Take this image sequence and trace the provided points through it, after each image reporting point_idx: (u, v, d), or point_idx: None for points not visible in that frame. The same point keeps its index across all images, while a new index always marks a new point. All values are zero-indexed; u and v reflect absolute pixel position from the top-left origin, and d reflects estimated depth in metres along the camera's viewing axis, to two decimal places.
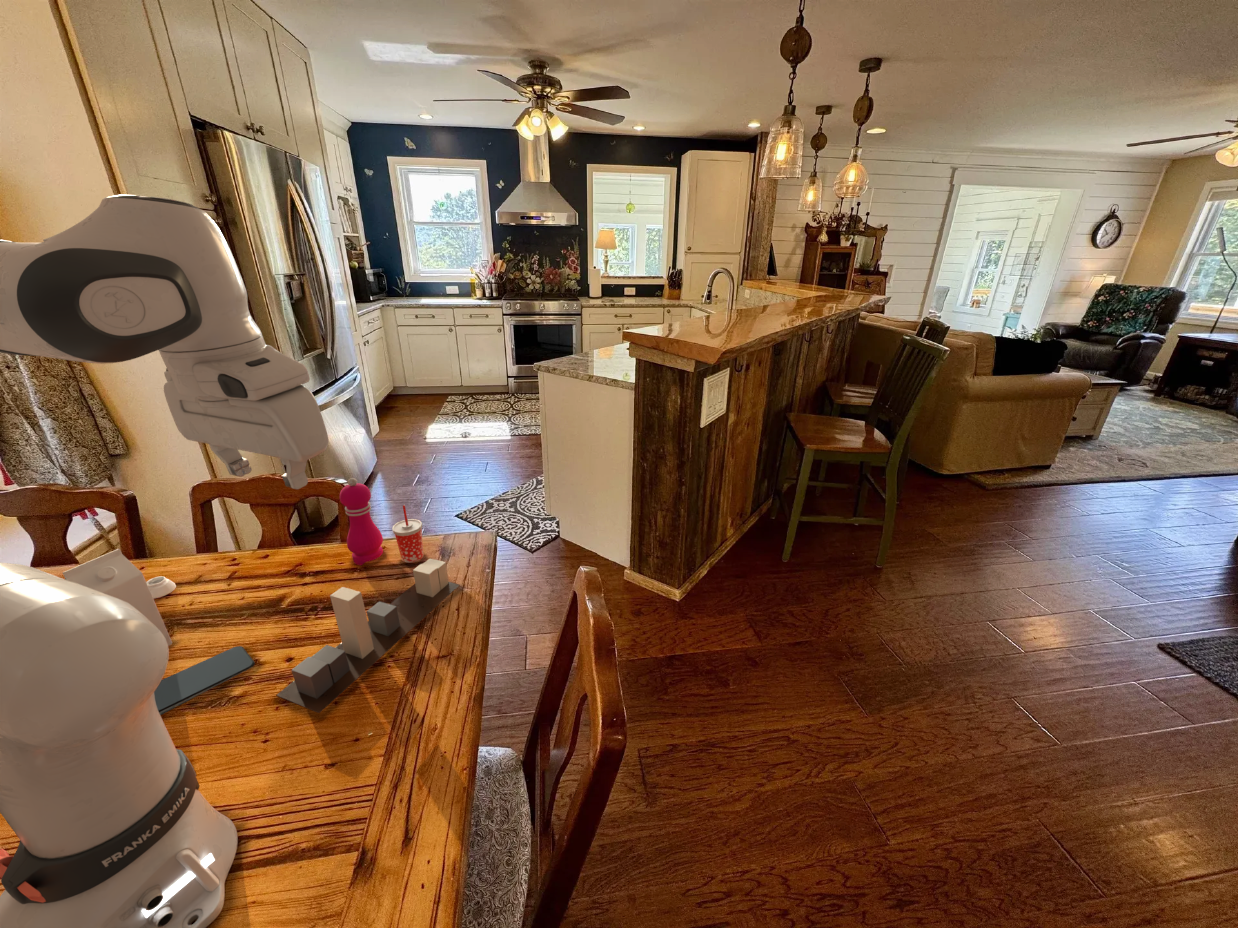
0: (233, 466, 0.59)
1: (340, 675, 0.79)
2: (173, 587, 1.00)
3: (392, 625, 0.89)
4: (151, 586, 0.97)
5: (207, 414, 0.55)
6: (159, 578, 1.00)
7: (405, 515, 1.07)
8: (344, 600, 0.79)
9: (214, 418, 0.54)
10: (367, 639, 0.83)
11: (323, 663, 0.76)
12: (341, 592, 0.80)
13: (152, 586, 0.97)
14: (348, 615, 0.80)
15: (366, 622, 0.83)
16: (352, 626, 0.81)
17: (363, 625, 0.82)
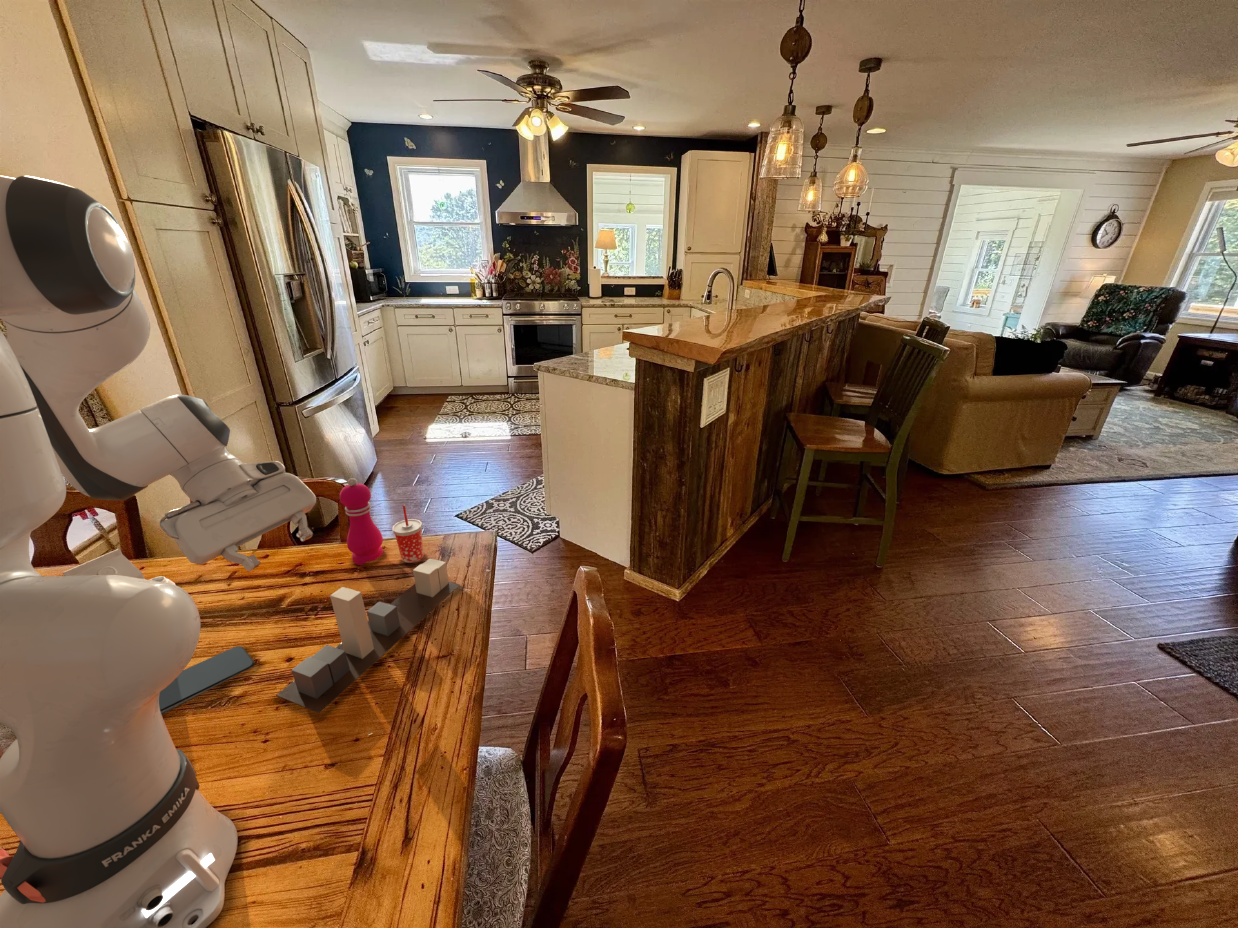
0: (253, 555, 0.78)
1: (340, 675, 0.79)
2: None
3: (392, 625, 0.89)
4: None
5: (228, 517, 0.78)
6: (159, 578, 1.00)
7: (405, 515, 1.07)
8: (344, 600, 0.79)
9: (239, 513, 0.79)
10: (367, 639, 0.83)
11: (323, 663, 0.76)
12: (341, 592, 0.80)
13: None
14: (348, 615, 0.80)
15: (366, 622, 0.83)
16: (352, 626, 0.81)
17: (363, 625, 0.82)
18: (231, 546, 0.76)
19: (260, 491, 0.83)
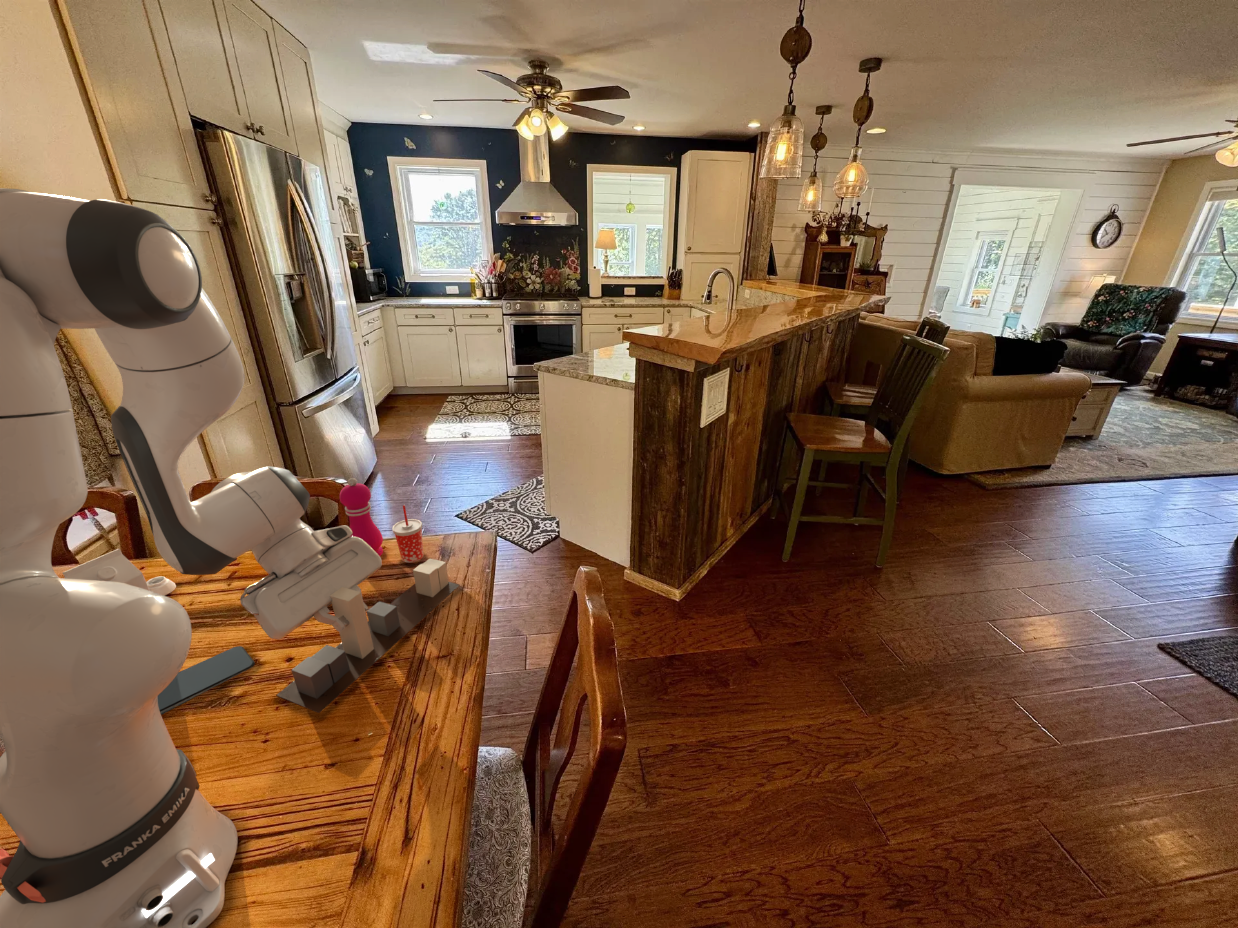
0: (343, 616, 0.80)
1: (340, 675, 0.79)
2: (173, 587, 1.00)
3: (392, 625, 0.89)
4: (151, 586, 0.97)
5: (303, 589, 0.78)
6: (159, 578, 1.00)
7: (405, 515, 1.07)
8: (344, 600, 0.79)
9: (313, 584, 0.79)
10: (367, 639, 0.83)
11: (323, 663, 0.76)
12: (341, 592, 0.80)
13: (152, 586, 0.97)
14: (348, 615, 0.80)
15: (366, 622, 0.82)
16: (352, 627, 0.80)
17: (363, 625, 0.82)
18: (323, 608, 0.79)
19: (331, 558, 0.83)
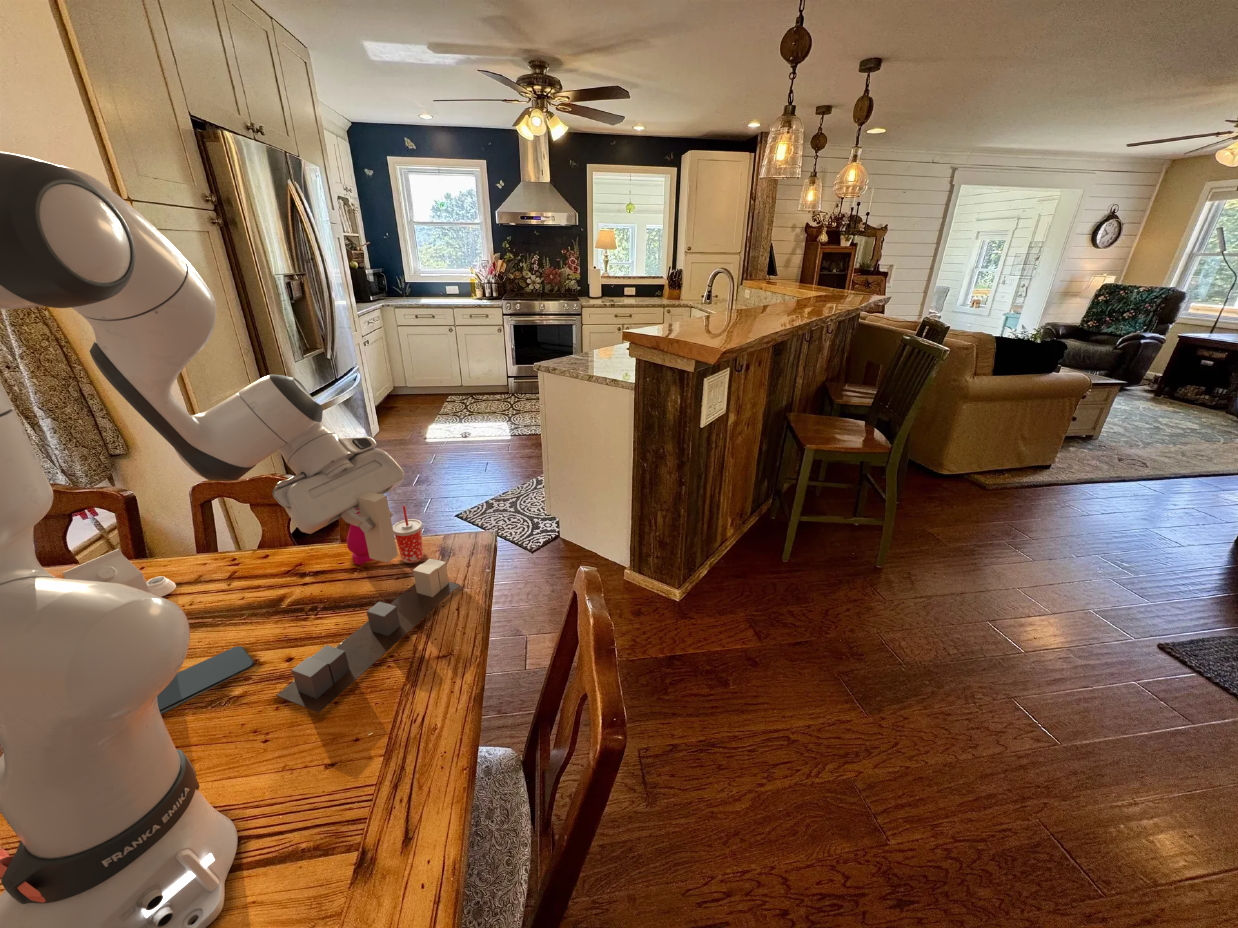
0: (369, 518, 0.82)
1: (340, 675, 0.79)
2: (173, 587, 1.00)
3: (392, 625, 0.89)
4: (151, 586, 0.97)
5: (332, 489, 0.80)
6: (159, 578, 1.00)
7: (405, 515, 1.07)
8: (371, 501, 0.81)
9: (341, 485, 0.81)
10: (392, 544, 0.86)
11: (323, 663, 0.76)
12: (367, 495, 0.83)
13: (152, 586, 0.97)
14: (374, 517, 0.82)
15: (391, 527, 0.85)
16: (378, 529, 0.83)
17: (388, 529, 0.84)
18: (351, 509, 0.81)
19: (357, 465, 0.85)
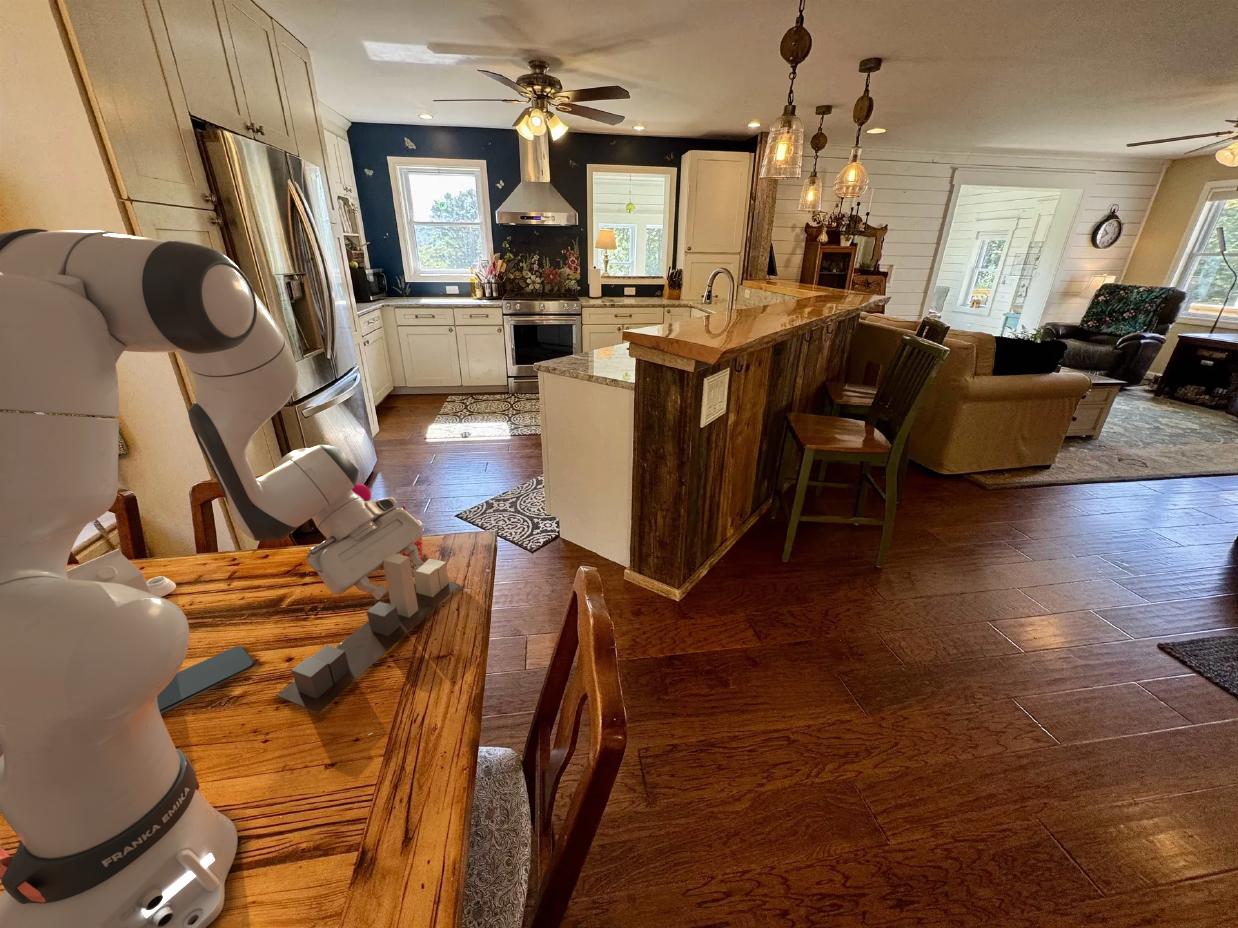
0: (381, 585, 0.87)
1: (340, 675, 0.79)
2: (173, 587, 1.00)
3: (392, 625, 0.89)
4: (151, 586, 0.97)
5: (359, 551, 0.87)
6: (159, 578, 1.00)
7: None
8: (395, 563, 0.88)
9: (367, 547, 0.88)
10: (413, 600, 0.93)
11: (323, 663, 0.76)
12: (391, 557, 0.90)
13: (152, 586, 0.97)
14: (398, 577, 0.89)
15: (412, 585, 0.92)
16: (401, 588, 0.90)
17: (410, 587, 0.92)
18: (364, 577, 0.86)
19: (380, 526, 0.92)
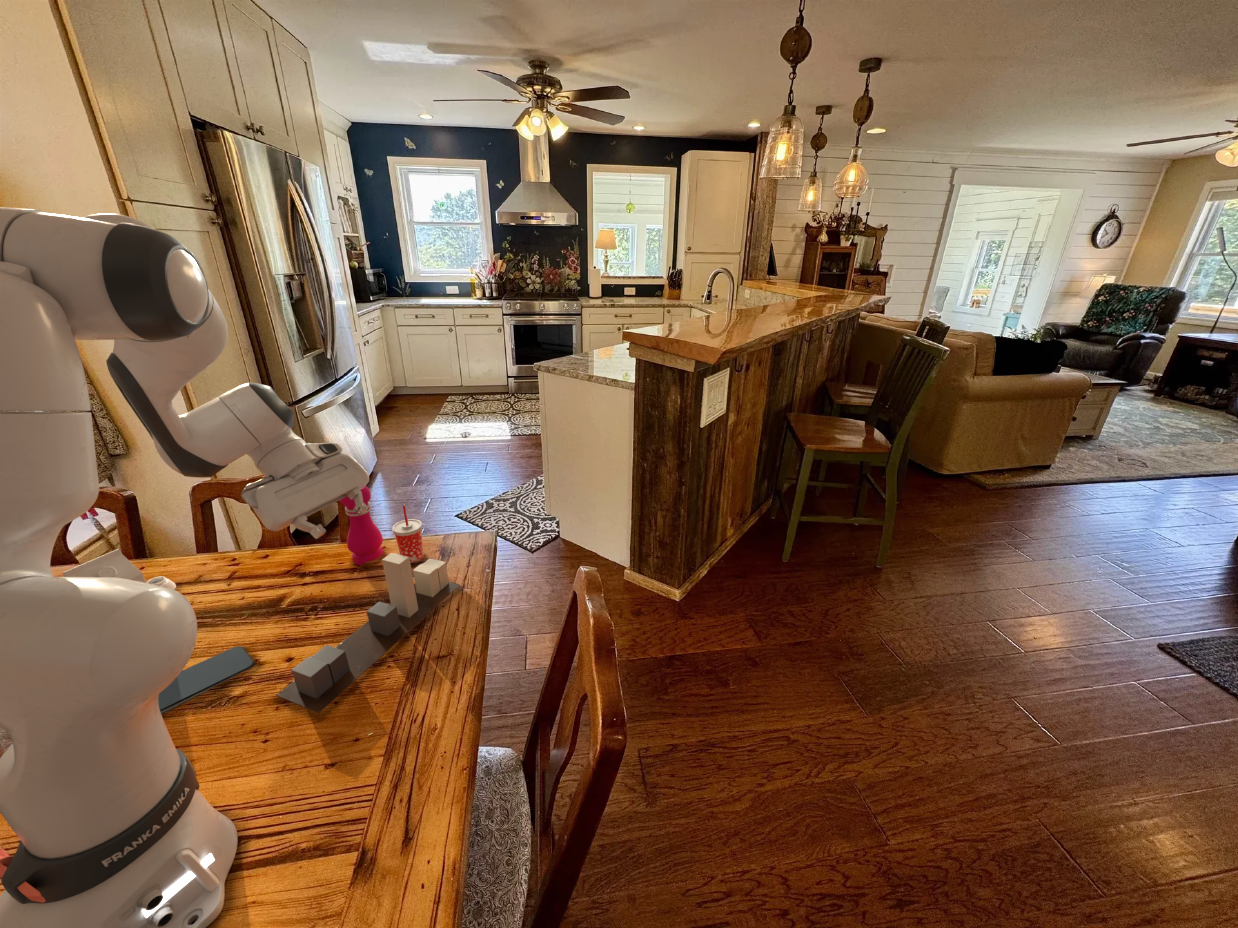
0: (320, 524, 0.87)
1: (340, 675, 0.79)
2: (173, 587, 1.00)
3: (392, 625, 0.89)
4: None
5: (298, 491, 0.87)
6: (159, 578, 1.00)
7: (405, 515, 1.07)
8: (395, 563, 0.88)
9: (306, 487, 0.88)
10: (413, 600, 0.93)
11: (323, 663, 0.76)
12: (391, 557, 0.90)
13: None
14: (398, 577, 0.89)
15: (412, 585, 0.92)
16: (401, 588, 0.90)
17: (410, 587, 0.92)
18: (301, 516, 0.86)
19: (322, 469, 0.92)
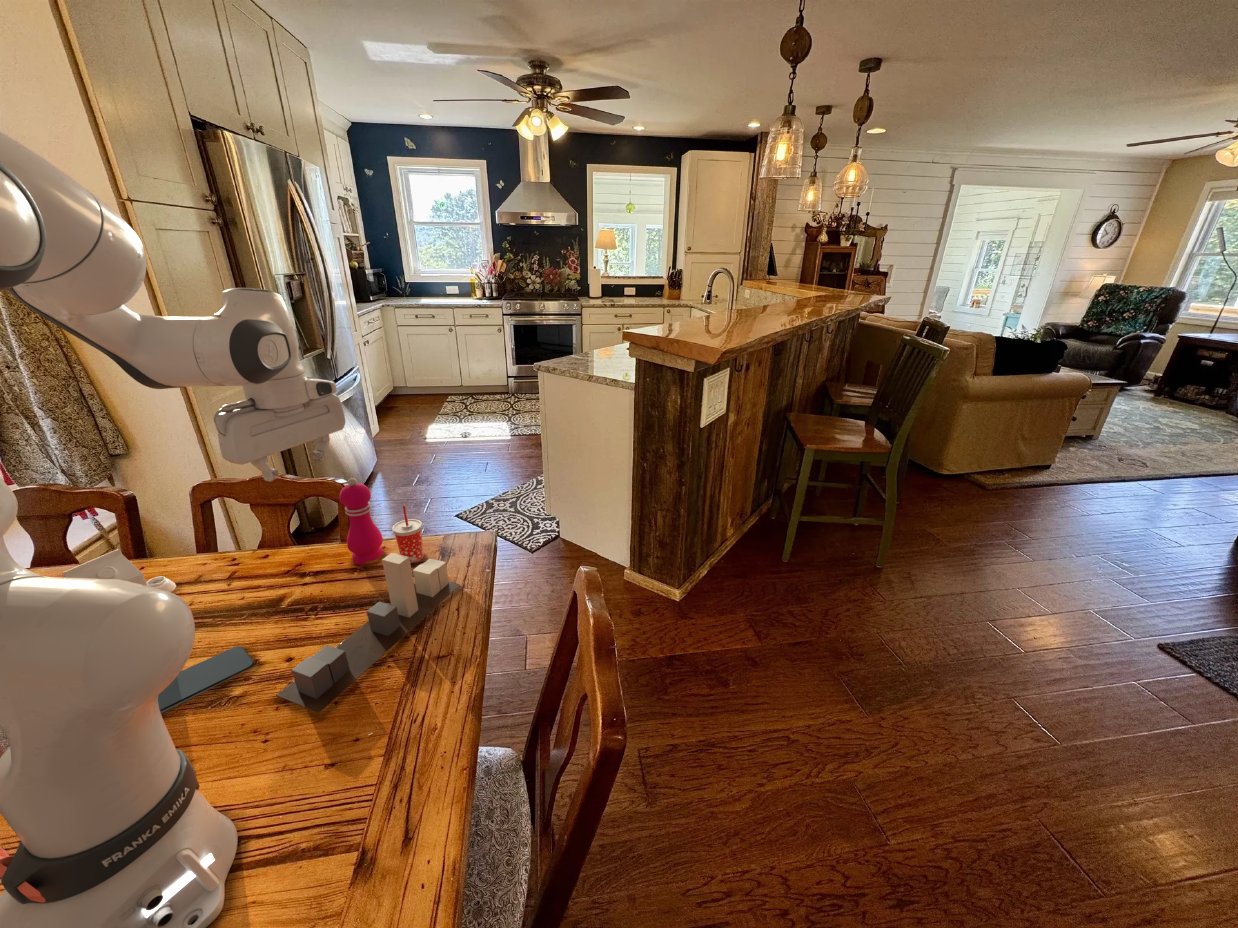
0: (276, 470, 0.82)
1: (340, 675, 0.79)
2: (173, 587, 1.00)
3: (392, 625, 0.89)
4: (151, 586, 0.97)
5: (273, 428, 0.79)
6: (159, 578, 1.00)
7: (405, 515, 1.07)
8: (395, 563, 0.88)
9: (283, 427, 0.81)
10: (413, 600, 0.93)
11: (323, 663, 0.76)
12: (391, 557, 0.90)
13: (152, 586, 0.97)
14: (398, 577, 0.89)
15: (412, 585, 0.92)
16: (401, 588, 0.90)
17: (410, 587, 0.92)
18: (263, 457, 0.79)
19: (307, 408, 0.84)
